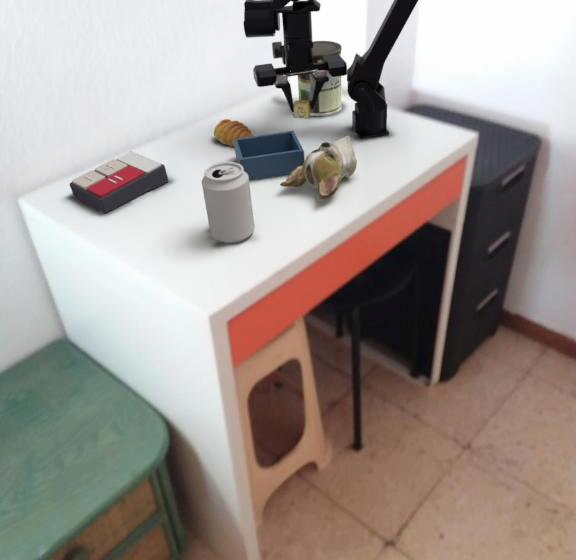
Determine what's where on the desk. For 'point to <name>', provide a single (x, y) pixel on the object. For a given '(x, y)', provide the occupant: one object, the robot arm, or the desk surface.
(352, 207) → the desk surface
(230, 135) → the pastry
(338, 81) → the coffee can
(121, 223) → the desk surface
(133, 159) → the multicoloured piece
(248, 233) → the can
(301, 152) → the blue open box
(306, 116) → the alphabet block
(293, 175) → the ceramic sculpture
